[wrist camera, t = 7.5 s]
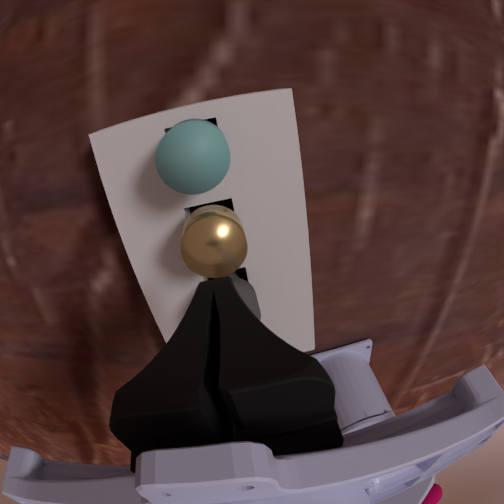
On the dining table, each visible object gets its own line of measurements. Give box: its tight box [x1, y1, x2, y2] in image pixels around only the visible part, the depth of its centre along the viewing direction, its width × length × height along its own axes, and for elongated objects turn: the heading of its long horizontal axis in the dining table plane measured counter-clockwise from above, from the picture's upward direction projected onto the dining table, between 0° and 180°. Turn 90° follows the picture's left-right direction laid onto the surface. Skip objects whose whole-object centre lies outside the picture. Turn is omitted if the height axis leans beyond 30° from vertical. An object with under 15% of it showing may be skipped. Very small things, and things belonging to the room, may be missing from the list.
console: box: [89, 88, 315, 352], centre depth 22 cm, size 21×12×2 cm, turn 9°
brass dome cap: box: [181, 205, 248, 278], centre depth 18 cm, size 4×4×4 cm
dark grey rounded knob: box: [215, 272, 261, 320], centre depth 21 cm, size 4×4×4 cm
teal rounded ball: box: [155, 119, 230, 195], centre depth 16 cm, size 4×4×4 cm
